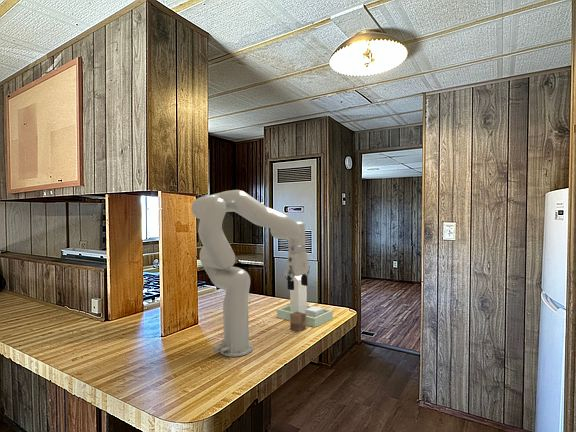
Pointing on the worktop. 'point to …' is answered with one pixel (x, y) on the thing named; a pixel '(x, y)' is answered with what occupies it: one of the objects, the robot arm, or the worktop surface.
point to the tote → (310, 321)
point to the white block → (314, 311)
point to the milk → (298, 296)
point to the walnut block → (298, 321)
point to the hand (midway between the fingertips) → (297, 287)
